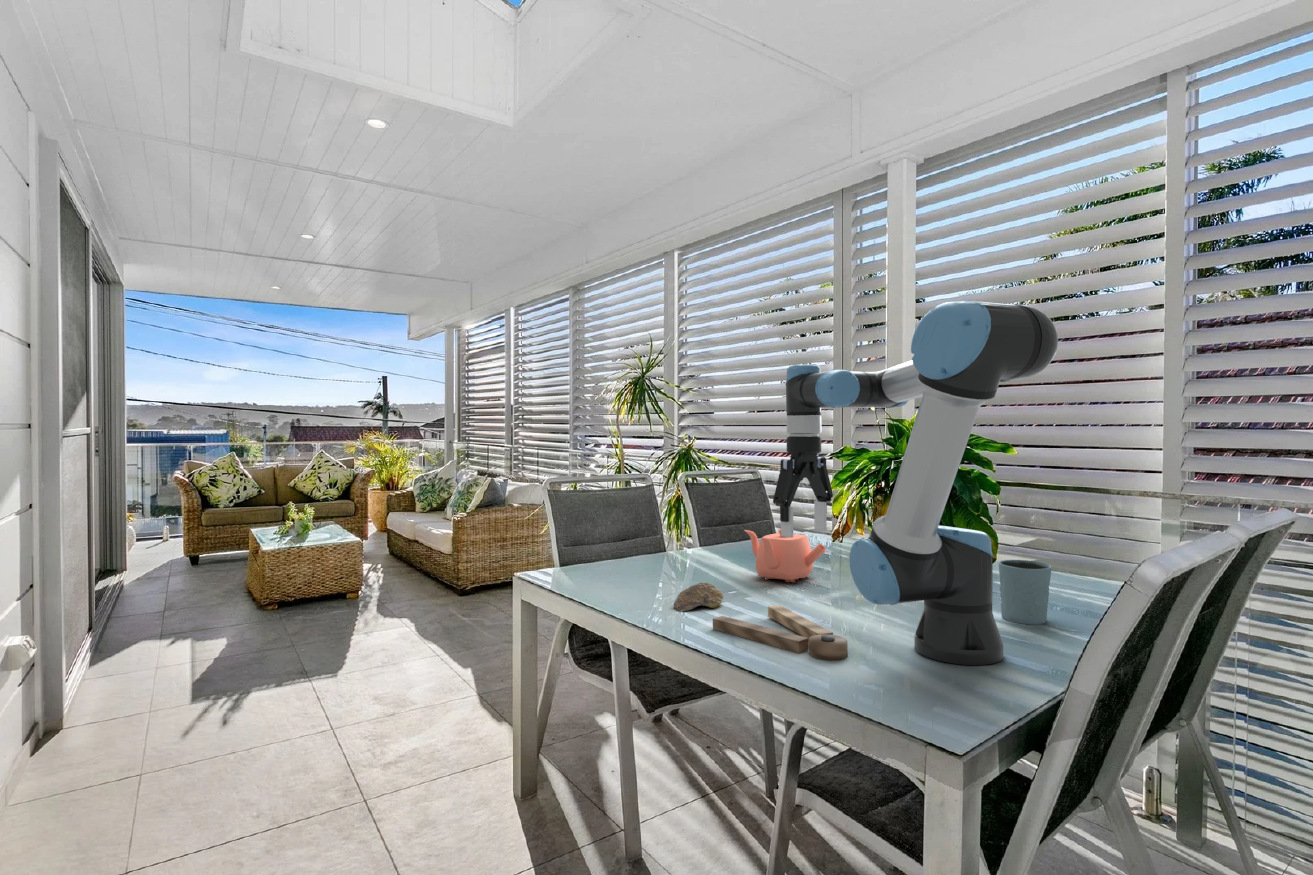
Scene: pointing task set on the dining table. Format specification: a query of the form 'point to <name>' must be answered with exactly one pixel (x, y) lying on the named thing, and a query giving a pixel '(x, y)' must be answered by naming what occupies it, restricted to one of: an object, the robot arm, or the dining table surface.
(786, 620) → the tongs swing jaw
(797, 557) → the teapot
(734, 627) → the bar
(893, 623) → the dining table surface
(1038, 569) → the pale blue plant pot
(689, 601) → the brown rock
